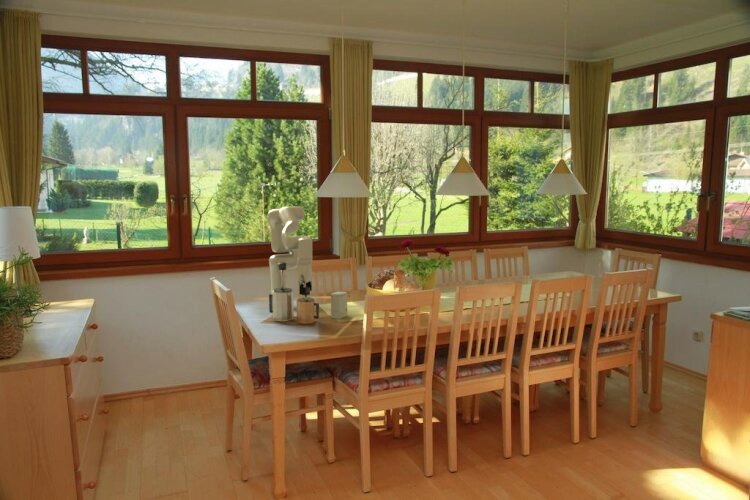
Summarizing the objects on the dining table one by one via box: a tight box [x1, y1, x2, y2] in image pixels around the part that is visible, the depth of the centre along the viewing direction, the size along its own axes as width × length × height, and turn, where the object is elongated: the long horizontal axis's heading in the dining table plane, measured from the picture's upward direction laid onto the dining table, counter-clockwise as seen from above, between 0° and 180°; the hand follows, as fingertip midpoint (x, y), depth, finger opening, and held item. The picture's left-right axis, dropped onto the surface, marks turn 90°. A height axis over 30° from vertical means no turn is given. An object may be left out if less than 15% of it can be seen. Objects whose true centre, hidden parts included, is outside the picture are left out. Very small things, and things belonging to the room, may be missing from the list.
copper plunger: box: [304, 286, 311, 300], centre depth 305 cm, size 6×6×15 cm
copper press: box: [296, 296, 320, 324], centre depth 306 cm, size 10×12×13 cm
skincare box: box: [330, 291, 348, 320], centre depth 317 cm, size 8×6×15 cm
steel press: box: [268, 287, 295, 322], centre depth 311 cm, size 11×13×17 cm
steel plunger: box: [278, 262, 286, 290], centre depth 309 cm, size 8×8×19 cm
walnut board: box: [260, 314, 325, 328], centre depth 310 cm, size 18×30×1 cm, turn 77°
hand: (305, 292), depth 305 cm, fingers open, 9 cm apart
